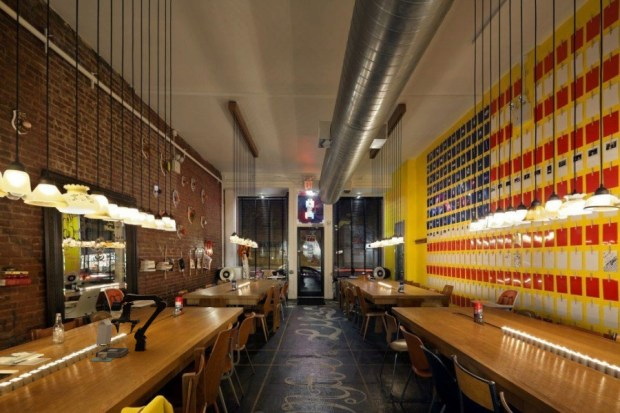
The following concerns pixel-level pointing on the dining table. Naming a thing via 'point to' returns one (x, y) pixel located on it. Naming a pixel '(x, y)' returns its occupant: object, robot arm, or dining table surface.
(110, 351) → the housing
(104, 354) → the ash cube
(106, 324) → the milk carton
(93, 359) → the teal mat
